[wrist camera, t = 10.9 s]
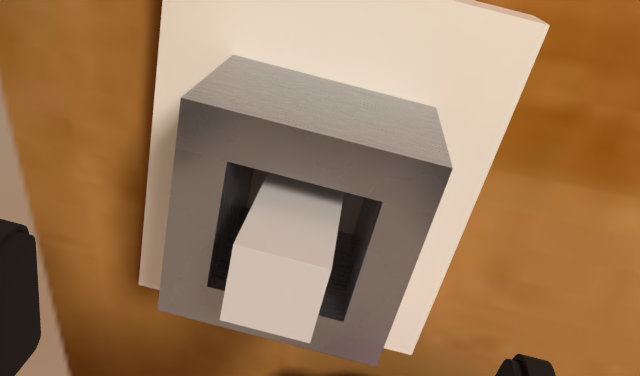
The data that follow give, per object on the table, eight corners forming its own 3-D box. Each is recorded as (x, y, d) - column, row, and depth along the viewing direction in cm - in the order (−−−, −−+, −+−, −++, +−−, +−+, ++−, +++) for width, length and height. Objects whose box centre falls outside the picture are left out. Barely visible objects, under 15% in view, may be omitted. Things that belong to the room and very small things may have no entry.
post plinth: (190, -73, 18) (29, -74, 10) (533, 15, 18) (653, 87, 10) (156, 258, 24) (42, 422, 16) (409, 323, 24) (420, 520, 16)
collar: (233, 54, 18) (180, 97, 13) (436, 107, 18) (452, 168, 13) (206, 228, 21) (157, 310, 16) (378, 272, 21) (376, 367, 16)
